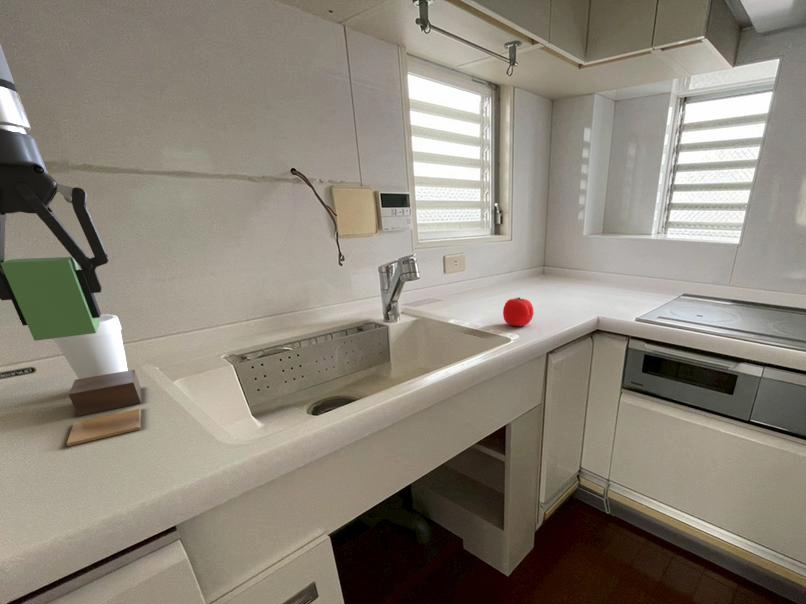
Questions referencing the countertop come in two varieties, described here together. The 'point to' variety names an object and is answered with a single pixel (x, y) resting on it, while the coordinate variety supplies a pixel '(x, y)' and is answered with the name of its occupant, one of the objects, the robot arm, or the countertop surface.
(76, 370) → the foam cup
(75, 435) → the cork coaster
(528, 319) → the tomato
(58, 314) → the green block
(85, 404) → the walnut base
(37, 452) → the countertop surface
